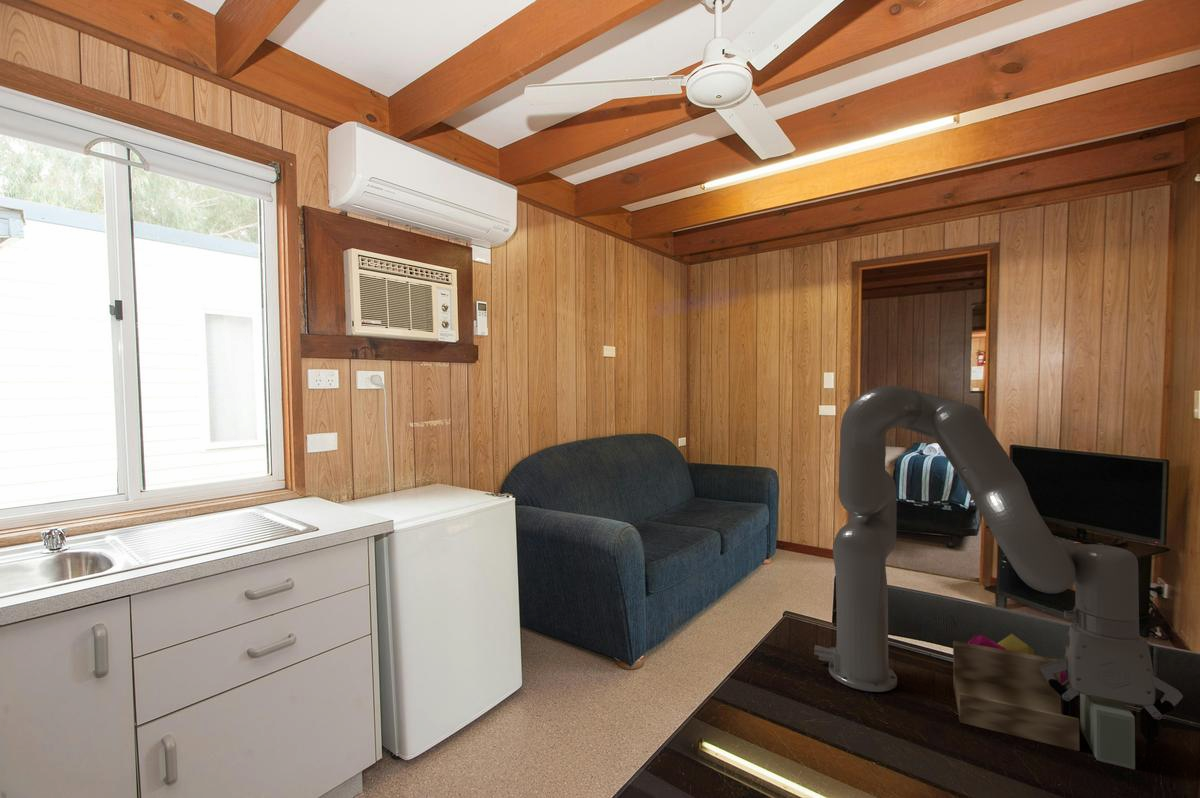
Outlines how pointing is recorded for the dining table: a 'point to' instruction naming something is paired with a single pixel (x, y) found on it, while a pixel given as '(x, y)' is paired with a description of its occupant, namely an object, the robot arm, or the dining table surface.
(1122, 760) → the cabinet block
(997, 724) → the wall board
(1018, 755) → the dining table surface
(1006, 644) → the toy
